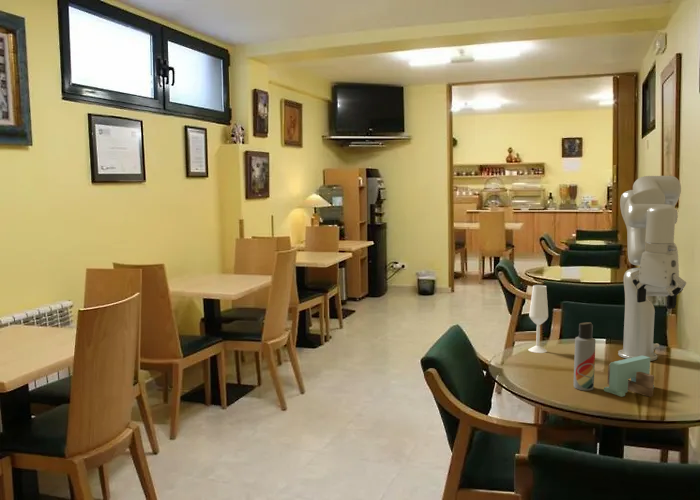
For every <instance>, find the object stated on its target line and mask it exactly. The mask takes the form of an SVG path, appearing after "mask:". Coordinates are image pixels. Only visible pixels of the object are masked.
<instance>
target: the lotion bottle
mask: <svg viewBox="0 0 700 500" xmlns="http://www.w3.org/2000/svg"><path fill="white" fill-rule="evenodd" d="M593 328H594V325H593V324H592V322H591V321H589V322H587V321H585V322H580V323H578V336H575V340H574V359H573V360H574V361H573V362H574V363H573V388H574V389H577V390H579V391H588V392H589V391H593V390H594V387H595V386H594V385H595V365H596V361H595V360H596V339H595V338H593Z"/></svg>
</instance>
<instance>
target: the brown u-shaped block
mask: <svg viewBox="0 0 700 500" xmlns="http://www.w3.org/2000/svg"><path fill="white" fill-rule="evenodd" d="M609 378H610V363H609V364H608V365H607V384H608V385H609ZM654 381H655V376H654V374H651V373H650V374H647V373H643V372H636V382H634V381H631V379H628V391H630V392H633V393H636V394H641V395H643V396H646V397H653V396H654V388H653V385H654V386H655V384H654V383H655V382H654Z"/></svg>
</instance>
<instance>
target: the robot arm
mask: <svg viewBox="0 0 700 500" xmlns="http://www.w3.org/2000/svg"><path fill="white" fill-rule="evenodd" d="M680 182H681V181H680V180H679V179H678V178H677V177H676V176H674V175H646V176H645V175H644V176H641V177H638V178H637V179H636V180H635V181H634V182H633V185H632V189H629V190H627V191H624V192H623V193H622V194H621V196H620V200H619V203H620V204H619V205H620V212H621V216H622V219H623V222H624V224H625V227H626V232H627V234H626V235H627V258H628V262H629V263H630V264H631V265H634V266H639V267H633V268H629V269H627V270H626V271H625V272H624V273H623V274H624V275H623V288H624V321H623V325H624V326H623V341H622V342H623V348H622V349H619V350H617V352H618V353H617V355H618V356H619V357H620V358H623V359H629V358H633V357H638V356H642V355H643V356H647V357H650V362H651V361H653V362H654V361H655V360H657V359H658V354H657V353H656V352H654V350H658V349H660V344H659V343H654V335H655V334H654V331H655V330H654V329H655V315H656V314H655V313H656V311H655V306H654V305H653V303H652V302H651V301H650V300H649V299H648V297H666V309H668V310H671V309H676V305H677V298H678V295H679V294H680V293H681V292H682V291H683V290H684V288H685V287H686V285H687V282H686V281H685V280H684V279H682V278H681V277H680V270H679V269H680V268H679V267H680V266H679V254H678V253H679V252H678V251H679V250H678V247H677V245H676V243H675V241H674V240H675V229H676V228H675V225H676V224H677V223H678V217H679V215H678V210H677V209H676V205H677V204H678V201H679V199H680V197H681V194H682V193H681V192H682V186H681V183H680Z"/></svg>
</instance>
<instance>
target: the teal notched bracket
mask: <svg viewBox="0 0 700 500" xmlns="http://www.w3.org/2000/svg"><path fill="white" fill-rule="evenodd" d="M609 364H610V378H609V384H608V386H605V387H603V391H604V392H606V393H610V394H611V395H612V394H613V395H615V396H618V397H625V396H626V393H628V391H629V390H628V380H631V381H634V382H636V372H643V373H647V374H650V375H651V361H650V357H647V356H643V355H642V356H638V357H633V358H629V359H626V358H623V359H619V360H615V361H610V363H609ZM654 388H655V384H654V385H653V389H654Z"/></svg>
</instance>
